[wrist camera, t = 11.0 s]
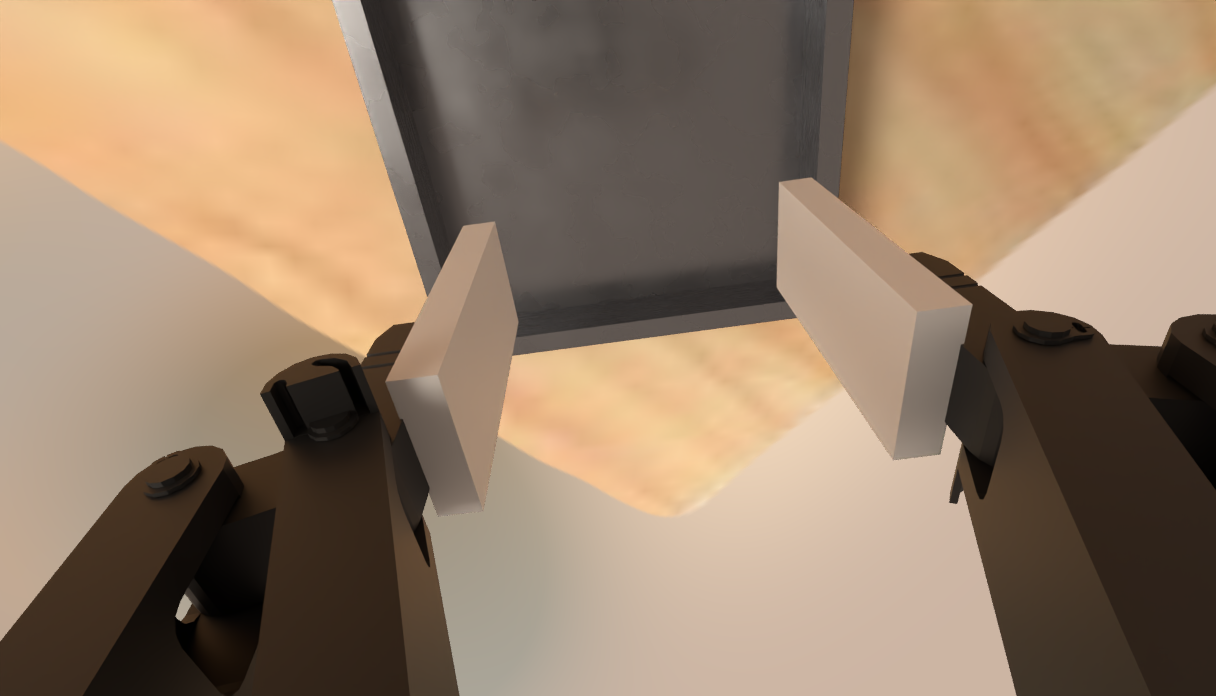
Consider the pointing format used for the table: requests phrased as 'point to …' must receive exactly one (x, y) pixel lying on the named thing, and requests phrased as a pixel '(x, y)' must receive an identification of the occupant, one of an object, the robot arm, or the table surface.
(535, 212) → the grey square tray
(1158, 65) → the table surface
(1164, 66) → the table surface
